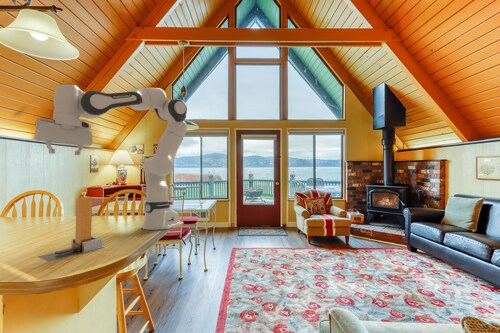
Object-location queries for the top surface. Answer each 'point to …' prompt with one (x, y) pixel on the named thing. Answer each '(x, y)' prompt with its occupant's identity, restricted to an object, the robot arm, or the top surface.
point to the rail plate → (55, 257)
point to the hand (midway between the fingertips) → (65, 154)
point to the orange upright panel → (81, 224)
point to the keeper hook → (90, 244)
